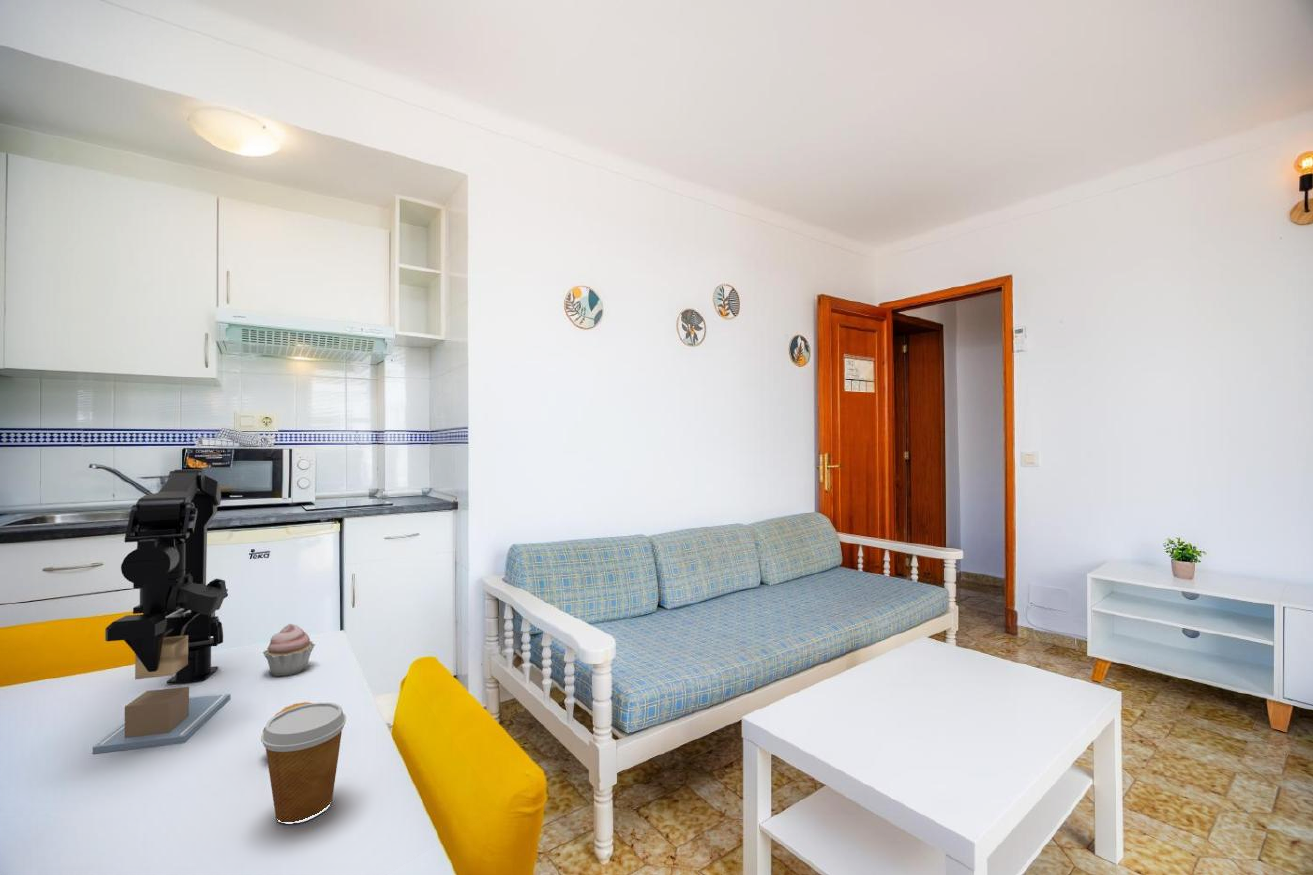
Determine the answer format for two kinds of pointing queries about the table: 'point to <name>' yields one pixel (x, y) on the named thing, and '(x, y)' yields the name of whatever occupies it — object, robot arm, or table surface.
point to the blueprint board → (169, 737)
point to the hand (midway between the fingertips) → (162, 665)
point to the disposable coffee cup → (303, 758)
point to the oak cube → (166, 658)
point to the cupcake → (289, 651)
